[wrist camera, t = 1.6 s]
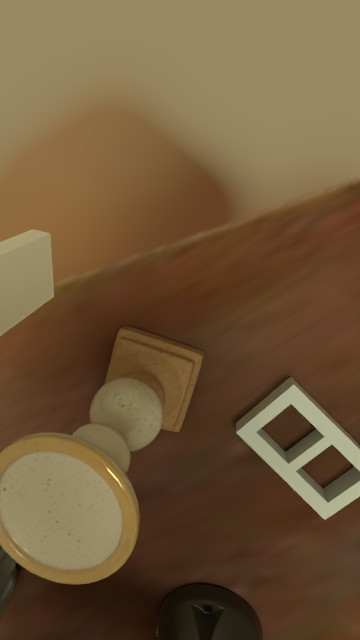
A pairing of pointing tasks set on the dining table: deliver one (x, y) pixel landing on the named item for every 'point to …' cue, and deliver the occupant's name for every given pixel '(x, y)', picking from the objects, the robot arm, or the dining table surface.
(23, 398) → the dining table surface
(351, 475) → the grey double window frame
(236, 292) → the dining table surface
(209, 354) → the dining table surface
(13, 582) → the bundt pan
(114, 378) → the candle holder
